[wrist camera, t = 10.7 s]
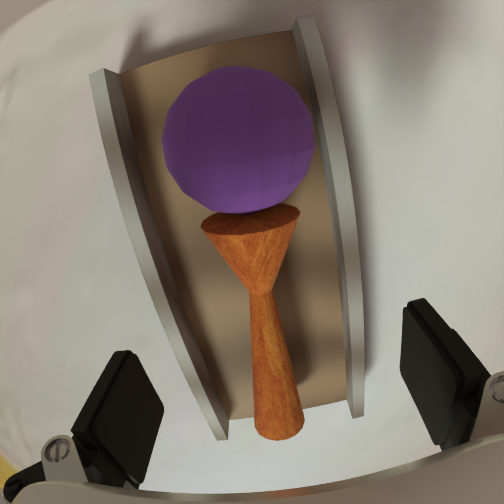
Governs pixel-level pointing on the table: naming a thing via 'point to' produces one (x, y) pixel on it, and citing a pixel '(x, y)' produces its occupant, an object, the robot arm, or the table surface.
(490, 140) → the table surface
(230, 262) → the kendama
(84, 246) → the table surface
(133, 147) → the rail cradle
